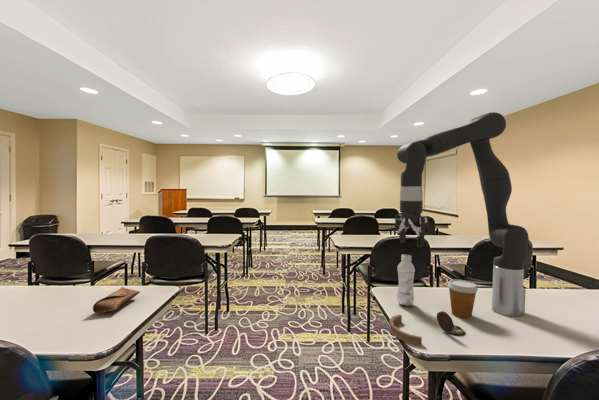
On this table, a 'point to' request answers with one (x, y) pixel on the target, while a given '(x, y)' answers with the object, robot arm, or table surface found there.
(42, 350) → the table surface
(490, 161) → the robot arm
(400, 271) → the plastic bottle
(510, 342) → the table surface
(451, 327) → the compass
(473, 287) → the disposable coffee cup
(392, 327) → the brown segmented arc
